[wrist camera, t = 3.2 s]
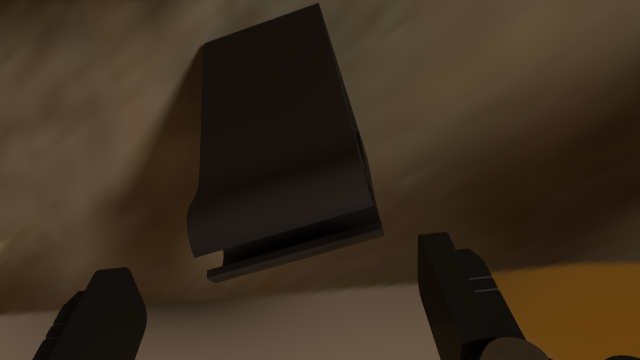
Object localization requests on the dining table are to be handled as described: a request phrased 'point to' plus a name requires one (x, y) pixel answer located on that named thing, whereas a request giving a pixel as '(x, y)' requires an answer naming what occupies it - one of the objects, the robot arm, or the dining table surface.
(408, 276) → the dining table surface
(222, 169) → the phone stand
